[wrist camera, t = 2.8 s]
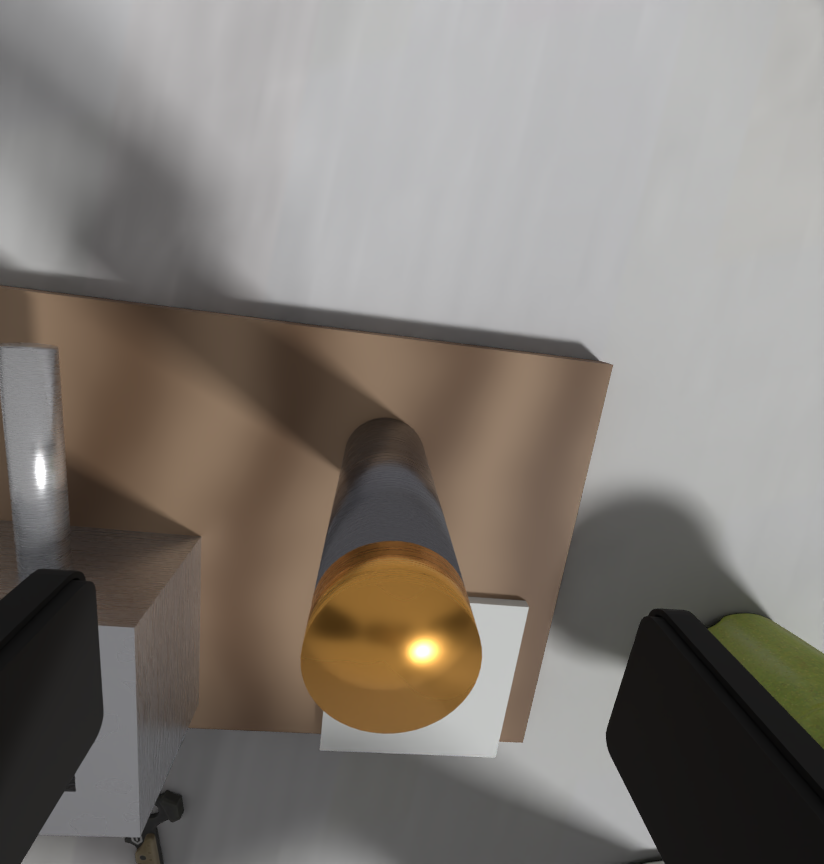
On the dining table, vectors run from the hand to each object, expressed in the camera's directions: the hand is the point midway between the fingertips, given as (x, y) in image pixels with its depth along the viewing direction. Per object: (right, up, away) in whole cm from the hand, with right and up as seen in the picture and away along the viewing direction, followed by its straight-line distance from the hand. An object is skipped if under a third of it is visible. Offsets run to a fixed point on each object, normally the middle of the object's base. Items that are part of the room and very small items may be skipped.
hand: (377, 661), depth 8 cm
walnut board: (-6, -1, +14) cm, 16 cm away
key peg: (-1, +3, +12) cm, 13 cm away
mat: (+1, -8, +15) cm, 17 cm away
